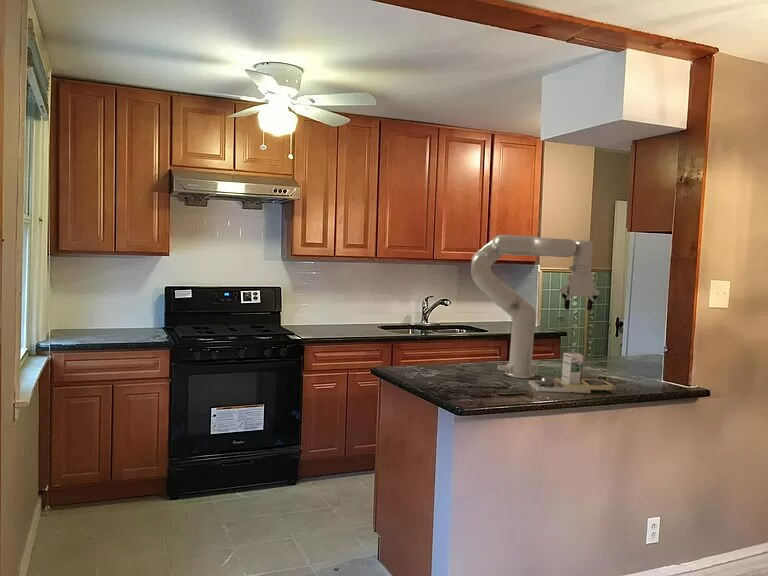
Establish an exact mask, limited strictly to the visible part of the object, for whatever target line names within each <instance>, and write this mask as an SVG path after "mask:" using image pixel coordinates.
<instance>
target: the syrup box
mask: <svg viewBox="0 0 768 576" xmlns="http://www.w3.org/2000/svg"><path fill="white" fill-rule="evenodd" d="M562 355H563V356H562V357H563V358H562V367H561V368H562V370H561V371H562V372H561V378H562V382H563V383H565V384H581V382H582V379H583V365H584V354H581V353H579V352H563V354H562Z"/></svg>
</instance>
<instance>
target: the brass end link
mask: <svg viewBox="0 0 768 576" xmlns="http://www.w3.org/2000/svg"><path fill="white" fill-rule="evenodd" d="M553 378H554V383H556V384H557V385H559V386H560V387H561V388H564V389H591V390H592V391H591V392H598V391H600V392H602V391H605V392H607V391H608V392H607V393H609V392H610V393H609V394H611V393H612V394H611V395H615V394H616V387H617V386H616V385H613V384H612V383H610V382H608V381H607V380H605V379H599V378H582V382H581V384H565V383H563V382H562V377H553Z"/></svg>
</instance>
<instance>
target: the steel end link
mask: <svg viewBox="0 0 768 576" xmlns="http://www.w3.org/2000/svg"><path fill="white" fill-rule="evenodd" d="M554 378H555V377H549V376H542V377H540V380H530V379H529V380H528V385H529V384H530V385H531V386H530V385H529V386H530V387H531V388H533V389H534V388H535V389H536V390H535V389H534V390H535V391H536V392H544V393H546V392H547V393H548V392H549V393H550V392H551V393H571V392H573V394H575V393H578V394H591V393H592V391H591V389H564V388H561V387H560V386H559V385H557V384H556V383H554ZM554 386H555V387H554Z"/></svg>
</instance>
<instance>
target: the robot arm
mask: <svg viewBox="0 0 768 576" xmlns="http://www.w3.org/2000/svg"><path fill="white" fill-rule="evenodd" d="M593 247H594V243H593V242H592V241H591V240H572V239H569V238H553V237H552V238H550V237H539V236H534V235H518V234H517V235H515V234H513V235H512V234H498V235H496V236H494V237H493V239H491V240H490V241H489V242H488V243H486V244H485V245H483V247H481V249H479V250H477V251H476V252H475V253H474V254H473V255H472V257H471V266H470V274H471V278H472V280H473V283H475V285H476V286H477V287H478V288H479V290H480V291H482V292H483V293H484V294H485V295H486V296H487V297H488V298H490V299H491V301H493V302H494V304H496V306H497V307H500V309H502V310H503V311H504V312H505V313H506V314H508V315H509V316H510V317H511V318H512V322H511V324H512V325H511V334H510V345H509V347H510V349H509V362H507V363H506V364H505V365H502V364H501V365H500V364H498V365H497V370H499V371H504V374H505V375H506V376H508V377H512V378H515V379H516V378H517V379H533V378H534V377H535V373H534V372H533V371H532V363H533V350H534V338H535V329H536V324H537V323H536V321H537V312H536V309H535V307H534V306H533V305H532V304H530V303H529V302H528V301H527V300H526V299H524V298H523V297H522V296H521V295H520V294H518V293H517V291H515V290H514V289H513V288H511V287H510V286H508V285H506V284H505V283H504V282H502V280H500V279H499V278H498V277H497V275H495V274H494V273H493V272H492V269H491V267H492V265H493V264H494V263H495V262H497V261H498V260H499V259H500V258H502V257H503V256H505V255H507V256H522V257H523V256H524V257H556V258H557V257H558V258H570V257H572V265H571V266H569V267H568V270H570V273H569V275H568V281H567V285H566V286H563V287H560V288H559V293H560V294H561V297H562V298H563V299H564V303H563V304H564V305H563V307H564V309H565V310H567V311H568V310H570V304H571V300H570V299H571V298H572V297H578V298H579V297H582V298H587V299H588V300H587V303H586V304H587V305H586V310H587V311H590V312H591V311H592V309H593V307H594V306H593V304H594V301H595V300H596V299H597V298H598V297H599V295H600V293H601V292H600V290H599V289H596V288H595V287H594V276H593V273H591V272H592V271H591V270H592V258H593ZM565 292H566V294H565Z"/></svg>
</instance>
